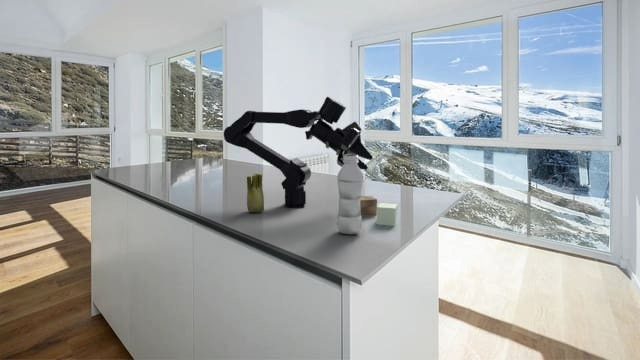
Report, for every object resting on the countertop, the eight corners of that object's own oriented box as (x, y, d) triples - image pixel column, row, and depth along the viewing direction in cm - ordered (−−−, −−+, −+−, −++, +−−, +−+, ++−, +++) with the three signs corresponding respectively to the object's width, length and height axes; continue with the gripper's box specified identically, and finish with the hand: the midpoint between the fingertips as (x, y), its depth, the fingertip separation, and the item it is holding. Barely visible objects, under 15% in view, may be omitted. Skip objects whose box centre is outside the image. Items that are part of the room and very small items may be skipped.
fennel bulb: (248, 214, 110) (247, 175, 108) (244, 211, 114) (243, 173, 112) (266, 213, 112) (266, 174, 110) (262, 209, 117) (261, 172, 114)
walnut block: (360, 216, 109) (361, 200, 109) (355, 212, 114) (355, 196, 113) (376, 215, 111) (377, 199, 110) (370, 211, 115) (370, 195, 115)
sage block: (376, 224, 101) (377, 207, 100) (378, 219, 106) (379, 203, 105) (394, 226, 100) (395, 208, 99) (396, 221, 105) (397, 204, 104)
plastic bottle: (343, 227, 98) (345, 153, 94) (366, 232, 94) (368, 155, 91) (330, 234, 92) (331, 155, 89) (354, 239, 89) (356, 157, 85)
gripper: (346, 102, 108) (390, 132, 105) (340, 129, 125) (378, 155, 123) (324, 130, 105) (368, 161, 103) (321, 153, 123) (359, 180, 120)
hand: (369, 163), depth 112 cm, fingers open, 9 cm apart
